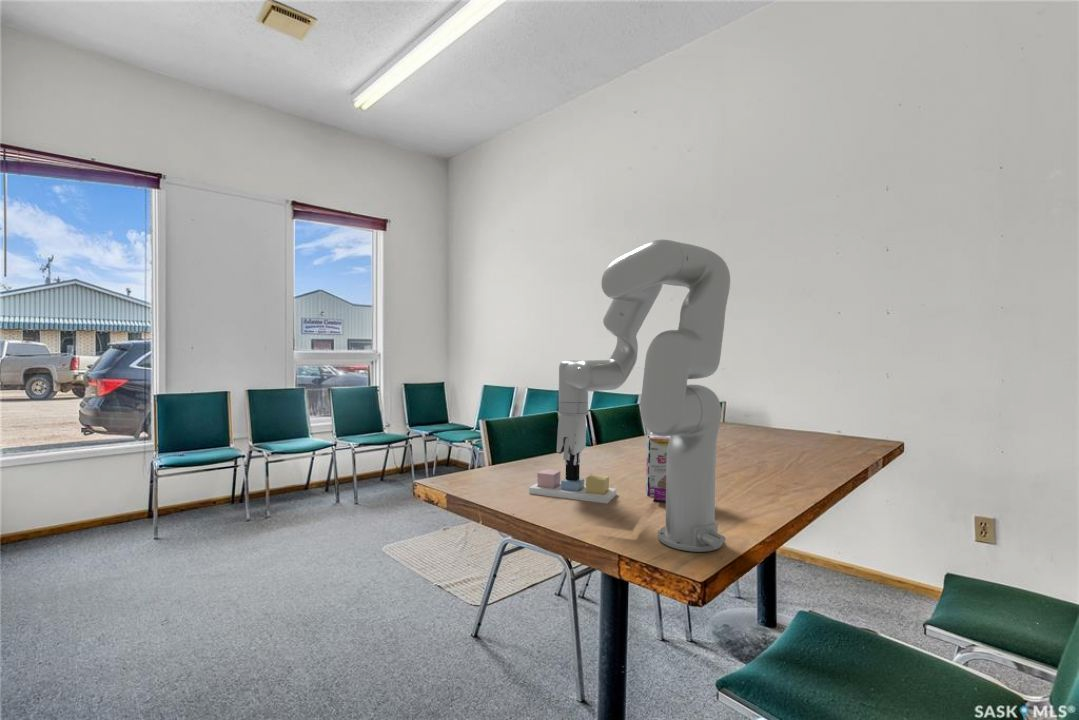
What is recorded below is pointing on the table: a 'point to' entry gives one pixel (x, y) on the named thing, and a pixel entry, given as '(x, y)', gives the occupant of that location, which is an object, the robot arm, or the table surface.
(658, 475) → the candy bar box
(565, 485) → the slate blue block
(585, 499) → the white rectangular tray
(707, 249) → the robot arm
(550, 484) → the rose block
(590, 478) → the yellow cube
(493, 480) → the table surface
